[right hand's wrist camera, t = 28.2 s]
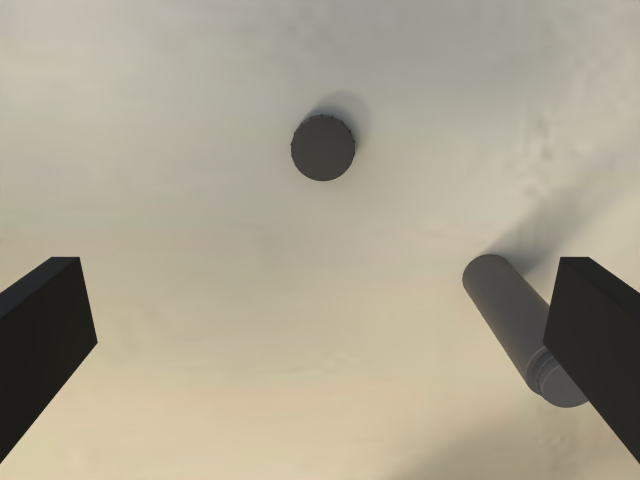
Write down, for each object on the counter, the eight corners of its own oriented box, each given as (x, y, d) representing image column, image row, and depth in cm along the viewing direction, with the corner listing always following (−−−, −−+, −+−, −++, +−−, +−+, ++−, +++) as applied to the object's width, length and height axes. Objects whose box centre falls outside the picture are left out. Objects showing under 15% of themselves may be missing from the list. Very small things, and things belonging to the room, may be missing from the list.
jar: (459, 298, 42) (528, 413, 28) (465, 254, 40) (542, 353, 26) (507, 298, 42) (600, 414, 28) (515, 254, 40) (618, 354, 26)
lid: (324, 100, 35) (324, 102, 34) (366, 148, 36) (368, 152, 35) (278, 144, 36) (276, 147, 35) (320, 189, 38) (320, 194, 36)
